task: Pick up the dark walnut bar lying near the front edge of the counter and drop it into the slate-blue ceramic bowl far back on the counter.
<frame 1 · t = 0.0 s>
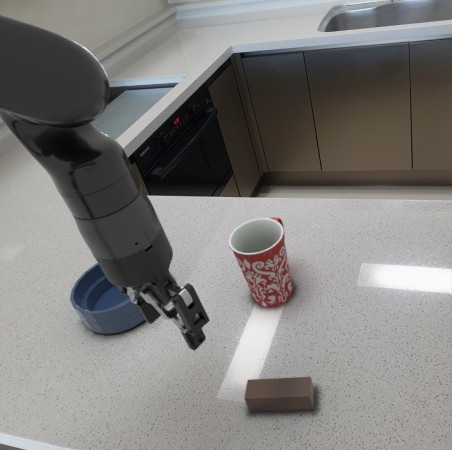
hand: (176, 330, 58), 15 cm above the table, tool pointing down, fingers open, 8 cm apart
bowl: (126, 303, 86), on the table
mug: (277, 286, 83), on the table
bar: (282, 401, 65), on the table
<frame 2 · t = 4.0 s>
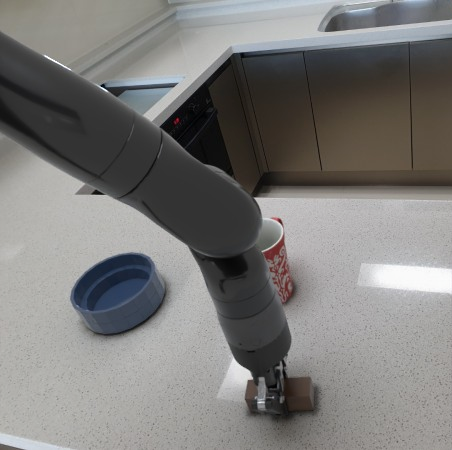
hand: (282, 400, 65), 0 cm above the table, tool pointing down, fingers closed on bar, 3 cm apart
bar: (282, 401, 65), on the table, touching gripper
everything else where it was.
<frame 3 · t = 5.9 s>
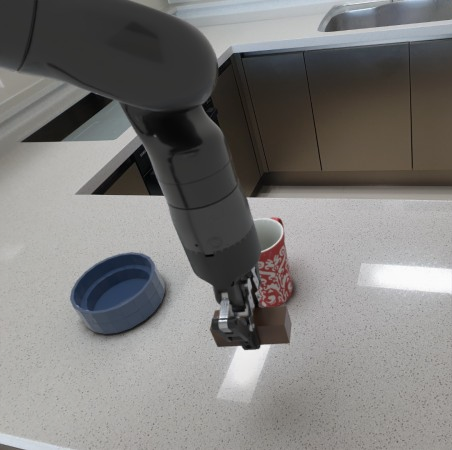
hand: (254, 334, 56), 15 cm above the table, tool pointing down, fingers closed on bar, 3 cm apart
bar: (254, 335, 56), point 14 cm above the table, touching gripper
everything else where it was.
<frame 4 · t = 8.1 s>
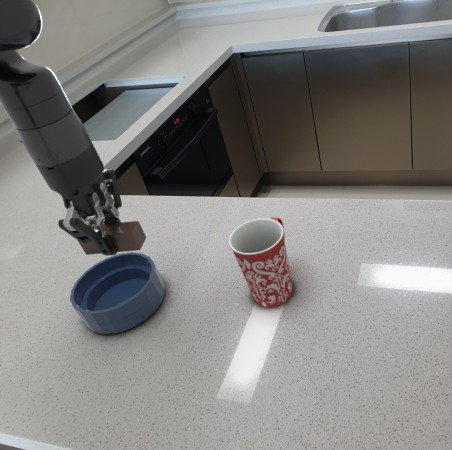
hand: (115, 245, 71), 17 cm above the table, tool pointing down, fingers closed on bar, 3 cm apart
bar: (116, 246, 71), point 17 cm above the table, touching gripper
everything else where it was.
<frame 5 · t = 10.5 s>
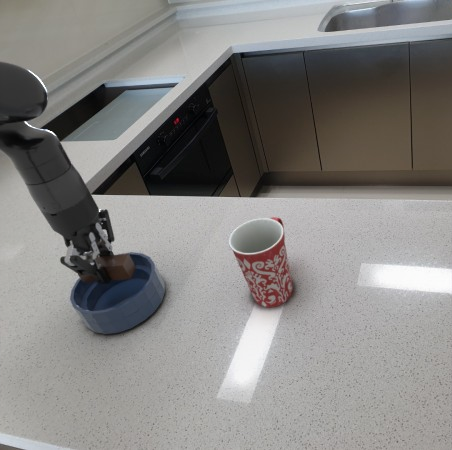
hand: (109, 274, 82), 7 cm above the table, tool pointing down, fingers closed on bar, 3 cm apart
bar: (110, 275, 82), point 7 cm above the table, touching gripper
everything else where it was.
when the fingers open (2 cm above the table, at t = 12.3 s): bar drops 1 cm, resting on bowl.
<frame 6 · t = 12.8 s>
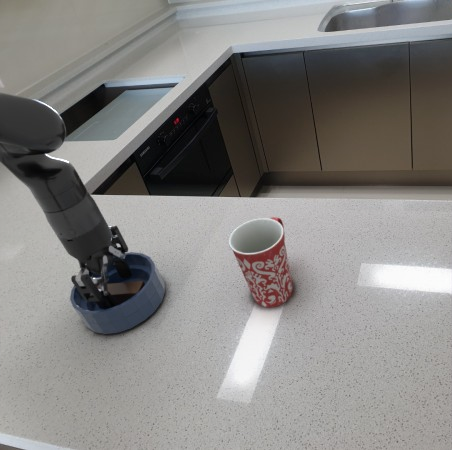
hand: (119, 292, 85), 3 cm above the table, tool pointing down, fingers open, 7 cm apart
bar: (125, 301, 86), point 1 cm above the table, touching bowl
everything else where it was.
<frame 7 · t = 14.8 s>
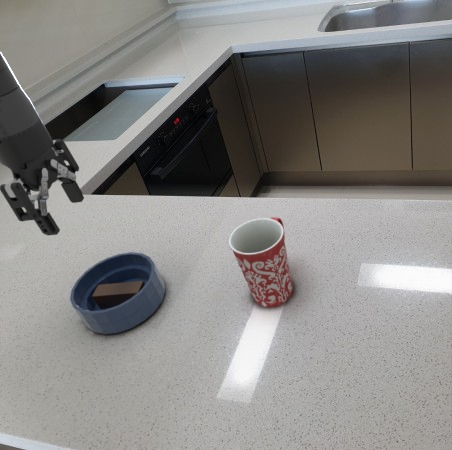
hand: (66, 216, 74), 21 cm above the table, tool pointing down, fingers open, 8 cm apart
nothing on the table moved.
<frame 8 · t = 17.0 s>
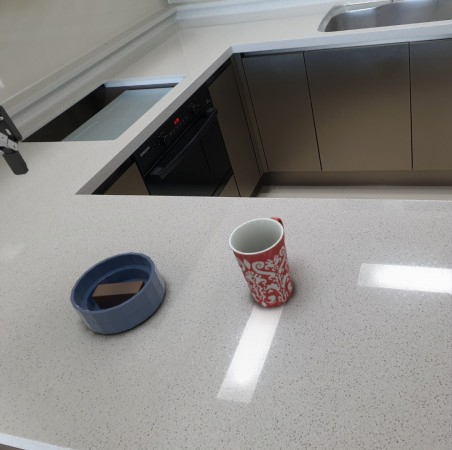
hand: (7, 188, 69), 28 cm above the table, tool pointing down, fingers open, 8 cm apart
nothing on the table moved.
at the end: bar inside the target area in the bowl (0.0 cm from its centre), point 0.6 cm above the bowl's base; the gripper is holding nothing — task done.
